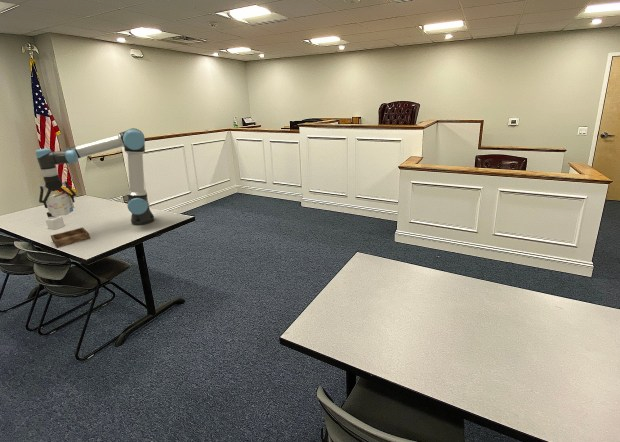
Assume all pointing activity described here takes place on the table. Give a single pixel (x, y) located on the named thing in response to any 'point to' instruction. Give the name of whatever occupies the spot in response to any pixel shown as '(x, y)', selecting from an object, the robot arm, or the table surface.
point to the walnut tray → (70, 237)
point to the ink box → (59, 204)
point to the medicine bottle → (54, 221)
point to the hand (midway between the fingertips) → (62, 210)
